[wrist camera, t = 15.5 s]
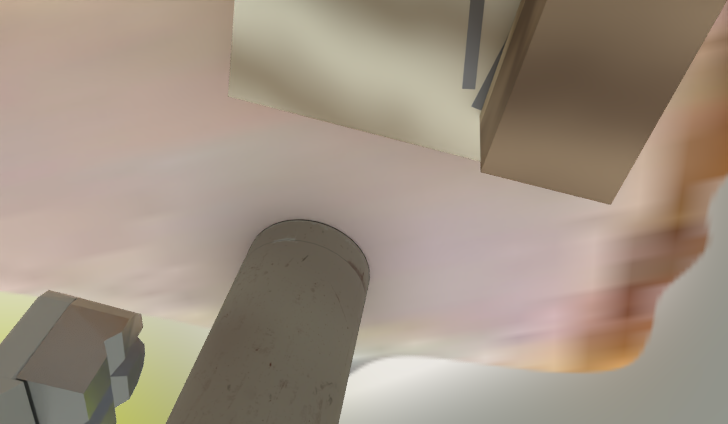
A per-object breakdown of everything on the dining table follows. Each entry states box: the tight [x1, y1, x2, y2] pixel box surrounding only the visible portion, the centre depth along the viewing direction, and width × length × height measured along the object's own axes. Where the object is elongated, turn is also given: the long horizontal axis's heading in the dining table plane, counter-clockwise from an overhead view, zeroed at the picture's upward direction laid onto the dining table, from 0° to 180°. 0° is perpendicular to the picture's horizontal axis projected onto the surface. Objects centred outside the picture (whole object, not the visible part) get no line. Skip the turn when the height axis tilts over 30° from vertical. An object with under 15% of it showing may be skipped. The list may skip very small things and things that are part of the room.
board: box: [228, 0, 521, 161], centre depth 27 cm, size 14×19×2 cm
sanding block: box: [479, 0, 727, 205], centre depth 24 cm, size 9×6×5 cm, turn 168°
